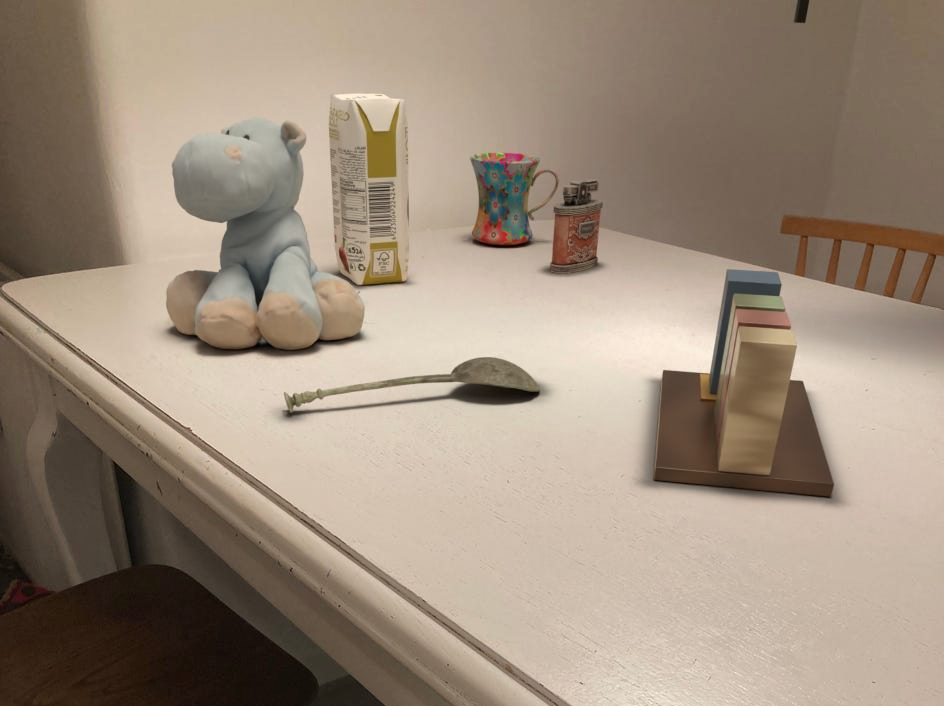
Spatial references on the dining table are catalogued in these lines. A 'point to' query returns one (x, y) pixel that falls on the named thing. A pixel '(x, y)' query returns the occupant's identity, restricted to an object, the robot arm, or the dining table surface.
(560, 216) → the lighter
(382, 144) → the juice carton
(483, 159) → the mug
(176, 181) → the hippo plush
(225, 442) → the dining table surface
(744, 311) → the block row
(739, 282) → the blue block
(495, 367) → the soupspoon
